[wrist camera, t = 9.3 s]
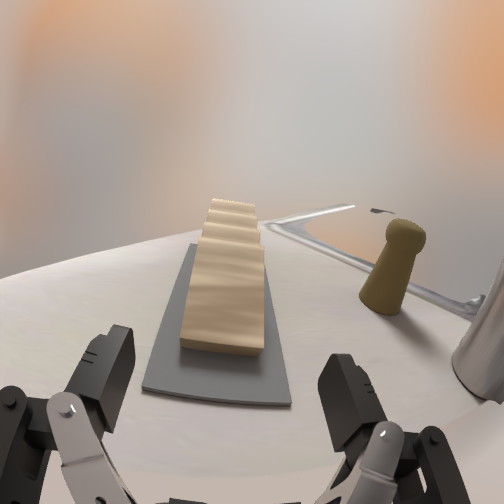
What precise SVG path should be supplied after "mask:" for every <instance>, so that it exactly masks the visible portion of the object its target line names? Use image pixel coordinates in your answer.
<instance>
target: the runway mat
mask: <svg viewBox="0 0 504 504" xmlns="http://www.w3.org/2000/svg"><path fill="white" fill-rule="evenodd" d="M197 246H198V244H192V243H190V246H189V248H188V251H187V253H186V256H185V259H184V261H183V264H182V266H181V269H180V272H179V274H178V277H177V280H176V283H175V285H174V288H173V291H172V294H171V296H170V299H169V302H168V305H167V308H166V311H165V313H164V316H163V319H162V322H161V325H160V328H159V331H158V334H157V337H156V340H155V343H154V346H153V350H152V353H151V356H150V359H149V362H148V366H147V369H146V372H145V376H144V379H143V382H142V389H143V390H148V391H153V392H158V393H163V394H168V395H174V396H180V397H186V398H193V399H200V400H208V401H216V402H226V403H238V404H252V405H277V406H290V405H291V403H292V400H291V395H290V390H289V385H288V380H287V374H286V369H285V364H284V359H283V354H282V349H281V344H280V339H279V334H278V329H277V324H276V319H275V314H274V309H273V304H272V299H271V294H270V289H269V284H268V279H267V274H266V269H265V264H264V349H263V351H262V352H261V354H260V355H259V357H255V356H245V355H235V354H226V353H218V352H210V351H203V350H196V349H190V348H183V347H180V332H181V326H182V320H183V315H184V310H185V304H186V299H187V294H188V289H189V284H190V279H191V274H192V269H193V264H194V260H195V255H196V250H197Z"/></svg>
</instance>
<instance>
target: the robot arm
mask: <svg viewBox="0 0 504 504" xmlns="http://www.w3.org/2000/svg"><path fill="white" fill-rule="evenodd" d="M452 363H453V367H454V370H455V372H456V374H457V376H458V377H459V379H460V380H461V381H462V383H463V384H464V385H465V386H466V387H467V388H468V389H469V390H470V391H472V392H473V393H474V394H476V395H477V396H479V397H481V398H484V399H486V400H493V401H496V402H497V403H498V404H501V403H502V402H503V401H504V258H503V260H502V263H501V265H500V267H499V270H498V272H497V275H496V277H495V279H494V281H493V283H492V285H491V288H490V290H489V292H488V294H487V296H486V298H485V300H484V302H483V304H482V306H481V308H480V309H479V311H478V313H477V315H476V317H475V319H474V320H473V322H472V324H471V326H470V327H469V329H468V331H467V332H466V334H465V336H464V337H463V338H462V340H461V341H460V344H459V345H458V347H457V348H456V350H455V351H454V353H453V356H452ZM134 366H135V347H134V337H133V330H132V328H128V327H123V326H119V325H115V324H114V325H113V326H112V327H111V329H110V331H109V333H108V335H107V336H106V335H102V334H100V335H98V336H97V337H96V338H94V339H93V340H92V341H91V342H90V343H89V345H88V347H87V349H86V351H85V353H84V354H83V356H82V358H81V361H80V362H79V364H78V365H77V367H76V369H75V371H74V373H73V375H72V377H71V379H70V381H69V383H68V385H67V387H66V389H65V390H64V391H63V392H60V393H57V394H55V395H53V396H52V397H51V398H50V399H40V398H31V397H27V396H26V395H25V393H24V392H23V391H22V390H21V389H20V388H19V387H16V386H7V387H4V388H3V389H1V390H0V504H39V500H40V495H41V490H42V486H43V481H44V477H45V473H46V469H47V465H48V461H49V458H50V454H51V451H52V450H56V451H59V454H60V457H61V459H62V465H61V470H62V473H63V476H64V479H65V481H66V483H67V486H68V488H69V490H70V493H71V495H72V496H73V499H74V501H75V503H76V504H137V503H136V501H135V499H134V498H133V497H132V495H131V493H130V492H129V490H128V488H127V487H126V485H125V484H124V482H123V481H122V479H121V477H120V475H119V474H118V472H117V470H116V468H115V466H114V464H113V462H112V461H111V459H110V457H109V455H108V453H107V450H106V448H105V446H104V444H103V442H102V437H103V434H104V431H106V432H109V433H112V434H113V431H114V428H115V425H116V421H117V418H118V415H119V412H120V408H121V405H122V402H123V399H124V396H125V393H126V390H127V387H128V384H129V381H130V378H131V375H132V373H133V370H134ZM318 392H319V395H320V399H321V403H322V406H323V410H324V414H325V418H326V421H327V425H328V429H329V433H330V436H331V440H332V444H333V448H334V452H342V451H345V455H346V456H345V457H344V458H343V460H342V462H341V464H340V465H339V467H338V469H337V471H336V473H335V475H334V477H333V478H332V480H331V482H330V483H329V485H328V487H327V489H326V490H325V492H324V493H323V494H322V495H321V496H320V497H319V498H318V499H317V501H316V502H315V503H314V504H391V503H392V502H393V504H471V503H470V500H469V497H468V494H467V491H466V488H465V485H464V482H463V480H462V477H461V474H460V471H459V469H458V466H457V464H456V461H455V459H454V456H453V454H452V451H451V449H450V447H449V444H448V442H447V439H446V437H445V435H444V433H443V432H442V431H441V430H440V429H439V428H437V427H435V426H428V427H426V428H424V429H423V430H422V431H421V432H420V433H412V432H403V430H402V429H401V427H400V426H399V425H397V424H396V423H394V422H391V421H388V420H387V418H386V415H385V413H384V411H383V408H382V406H381V404H380V402H379V399H378V397H377V395H376V393H375V390H374V388H373V386H372V385H371V381H370V379H369V377H368V375H367V373H366V372H365V371H364V370H363V369H362V368H361V367H360V366H356V365H355V363H354V360H353V358H352V356H351V355H350V354H332V355H331V356H330V357H329V359H328V361H327V363H326V365H325V367H324V369H323V371H322V373H321V375H320V377H319V380H318ZM420 467H421V469H422V472H423V475H424V478H425V481H426V485H427V490H426V492H425V493H424V490H423V487H422V483H421V480H420V477H419V474H418V471H417V469H419V468H420ZM157 504H206V503H203V502H194V501H187V500H180V499H173V498H170V500H169V502H168V503H157ZM284 504H301V502H296V503H284Z"/></svg>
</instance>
